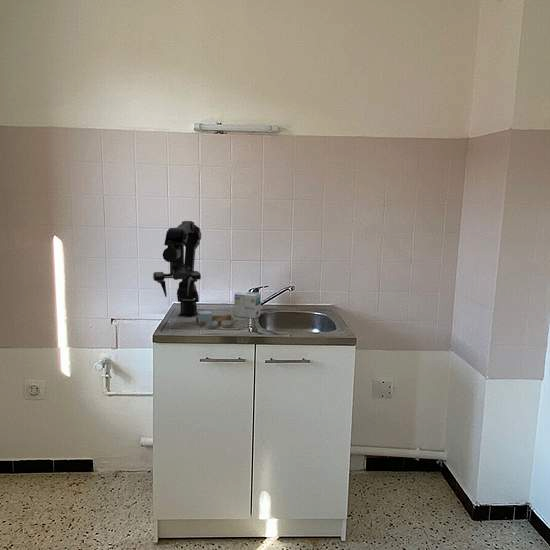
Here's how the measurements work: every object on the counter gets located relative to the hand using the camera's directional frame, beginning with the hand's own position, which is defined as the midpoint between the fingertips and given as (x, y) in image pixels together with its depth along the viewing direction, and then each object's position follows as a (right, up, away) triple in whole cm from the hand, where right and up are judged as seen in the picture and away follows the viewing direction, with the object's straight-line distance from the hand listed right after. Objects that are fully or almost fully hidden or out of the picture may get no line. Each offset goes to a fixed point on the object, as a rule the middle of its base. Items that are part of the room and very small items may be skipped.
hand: (177, 296), depth 200 cm
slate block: (+11, -12, +6) cm, 17 cm away
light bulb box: (+28, -10, +21) cm, 36 cm away
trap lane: (+16, -12, +6) cm, 21 cm away
